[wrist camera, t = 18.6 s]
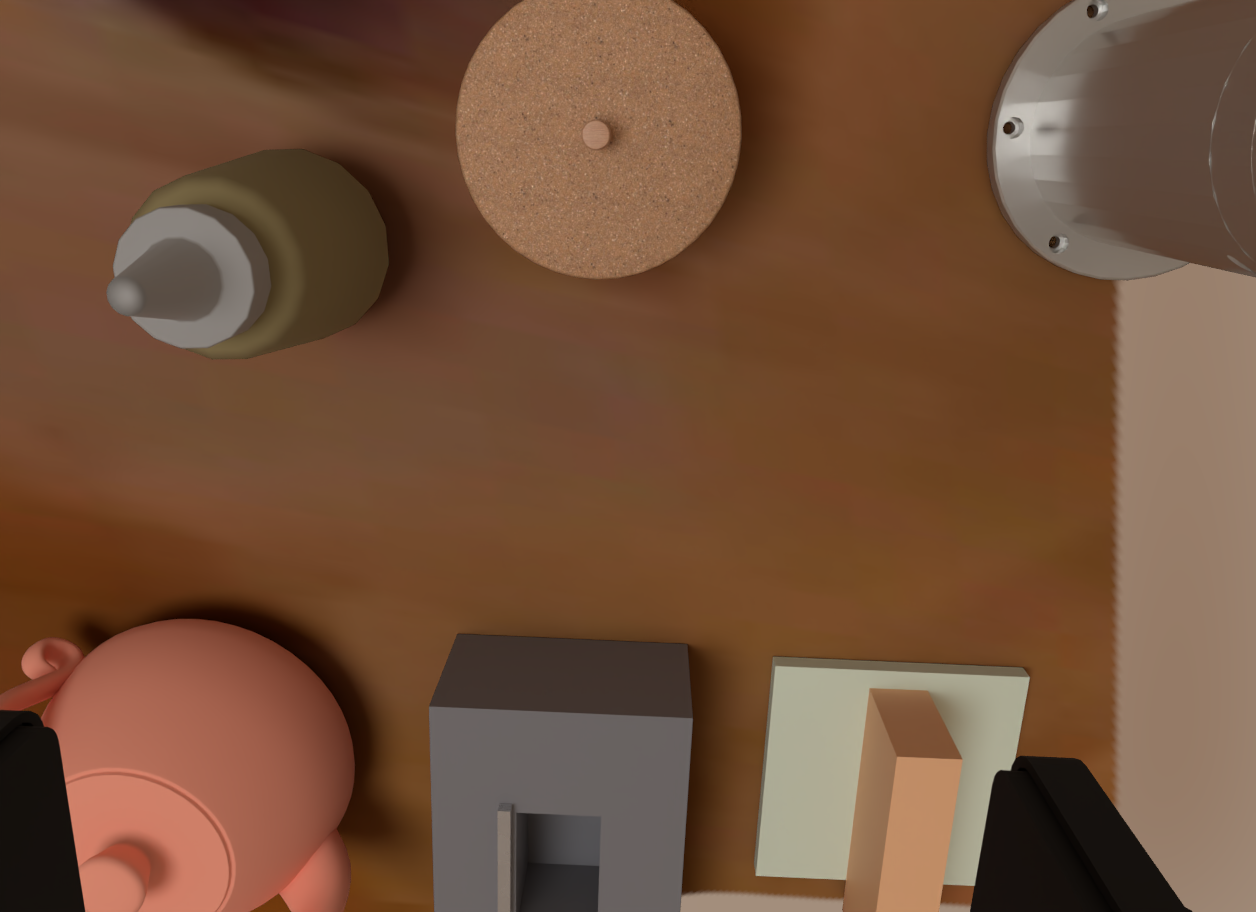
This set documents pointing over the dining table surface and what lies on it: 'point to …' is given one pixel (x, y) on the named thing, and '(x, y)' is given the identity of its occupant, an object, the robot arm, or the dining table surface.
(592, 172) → the lidded jar
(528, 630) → the dining table surface
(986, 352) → the dining table surface
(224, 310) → the squeeze bottle
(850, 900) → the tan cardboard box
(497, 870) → the dispenser
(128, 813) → the teapot
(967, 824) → the mat
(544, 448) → the dining table surface
